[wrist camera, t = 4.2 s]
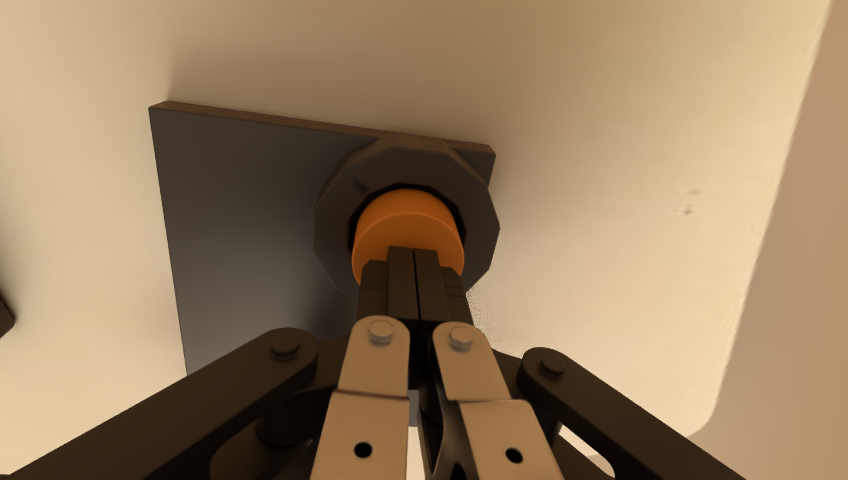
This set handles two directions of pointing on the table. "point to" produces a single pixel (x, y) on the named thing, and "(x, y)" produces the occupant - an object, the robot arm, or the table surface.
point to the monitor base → (293, 218)
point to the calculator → (5, 320)
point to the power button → (406, 229)
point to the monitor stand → (301, 464)
